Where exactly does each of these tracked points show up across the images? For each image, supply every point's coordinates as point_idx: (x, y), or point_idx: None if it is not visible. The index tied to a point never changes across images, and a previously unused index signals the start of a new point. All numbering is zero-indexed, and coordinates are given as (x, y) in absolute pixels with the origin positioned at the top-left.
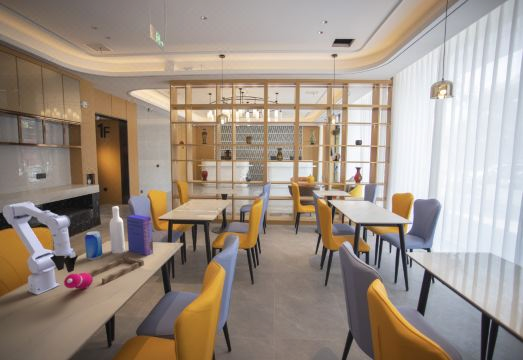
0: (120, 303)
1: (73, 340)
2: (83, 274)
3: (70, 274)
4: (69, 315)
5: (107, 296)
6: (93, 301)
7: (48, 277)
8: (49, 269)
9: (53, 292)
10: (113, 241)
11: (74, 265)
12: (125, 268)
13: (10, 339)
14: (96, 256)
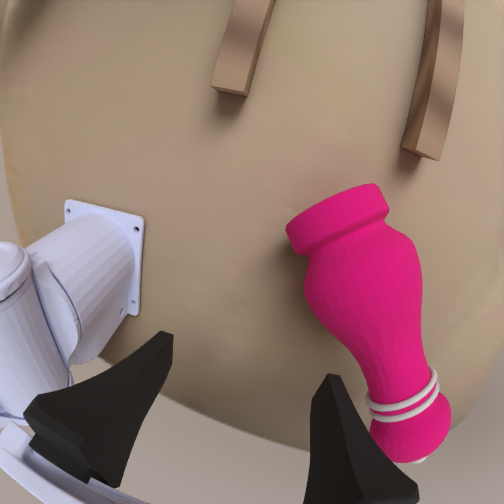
0: None
1: (453, 416)
2: (403, 316)
3: (409, 459)
4: None
5: (484, 271)
6: (448, 312)
7: (101, 304)
8: (64, 319)
9: (186, 284)
10: None
11: (356, 411)
12: (455, 11)
13: None
14: None
